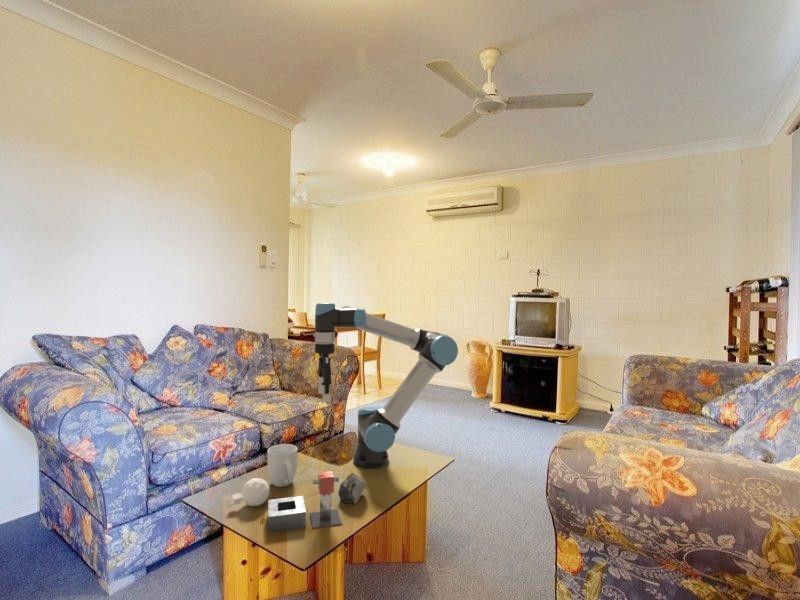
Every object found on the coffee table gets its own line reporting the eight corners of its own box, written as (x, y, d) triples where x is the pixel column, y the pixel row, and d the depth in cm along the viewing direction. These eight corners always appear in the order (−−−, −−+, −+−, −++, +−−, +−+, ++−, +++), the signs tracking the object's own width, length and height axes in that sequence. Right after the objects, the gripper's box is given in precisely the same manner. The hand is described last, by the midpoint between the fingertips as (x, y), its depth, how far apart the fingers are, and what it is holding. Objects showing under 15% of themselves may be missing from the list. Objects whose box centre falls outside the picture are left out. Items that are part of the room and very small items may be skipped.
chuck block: (302, 510, 143) (302, 495, 143) (305, 528, 133) (305, 512, 133) (268, 515, 140) (268, 499, 140) (268, 533, 130) (268, 517, 129)
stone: (346, 466, 155) (355, 476, 146) (366, 480, 158) (376, 492, 149) (330, 489, 153) (337, 501, 143) (350, 503, 156) (359, 516, 147)
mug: (305, 489, 158) (305, 454, 158) (275, 497, 152) (275, 460, 152) (291, 474, 171) (291, 441, 170) (263, 480, 165) (263, 447, 164)
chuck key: (336, 512, 141) (337, 470, 141) (339, 519, 137) (339, 476, 137) (312, 516, 139) (312, 473, 139) (313, 523, 135) (314, 479, 135)
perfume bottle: (266, 489, 154) (231, 501, 148) (265, 468, 151) (229, 480, 145) (273, 506, 147) (236, 519, 141) (272, 485, 144) (234, 498, 138)
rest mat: (337, 510, 144) (337, 509, 144) (341, 524, 135) (341, 523, 135) (309, 514, 141) (309, 512, 141) (312, 528, 133) (312, 527, 133)
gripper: (311, 339, 177) (310, 390, 178) (318, 347, 153) (317, 406, 154) (329, 338, 179) (329, 389, 180) (339, 346, 156) (338, 405, 156)
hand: (324, 397), depth 167 cm, fingers open, 13 cm apart
